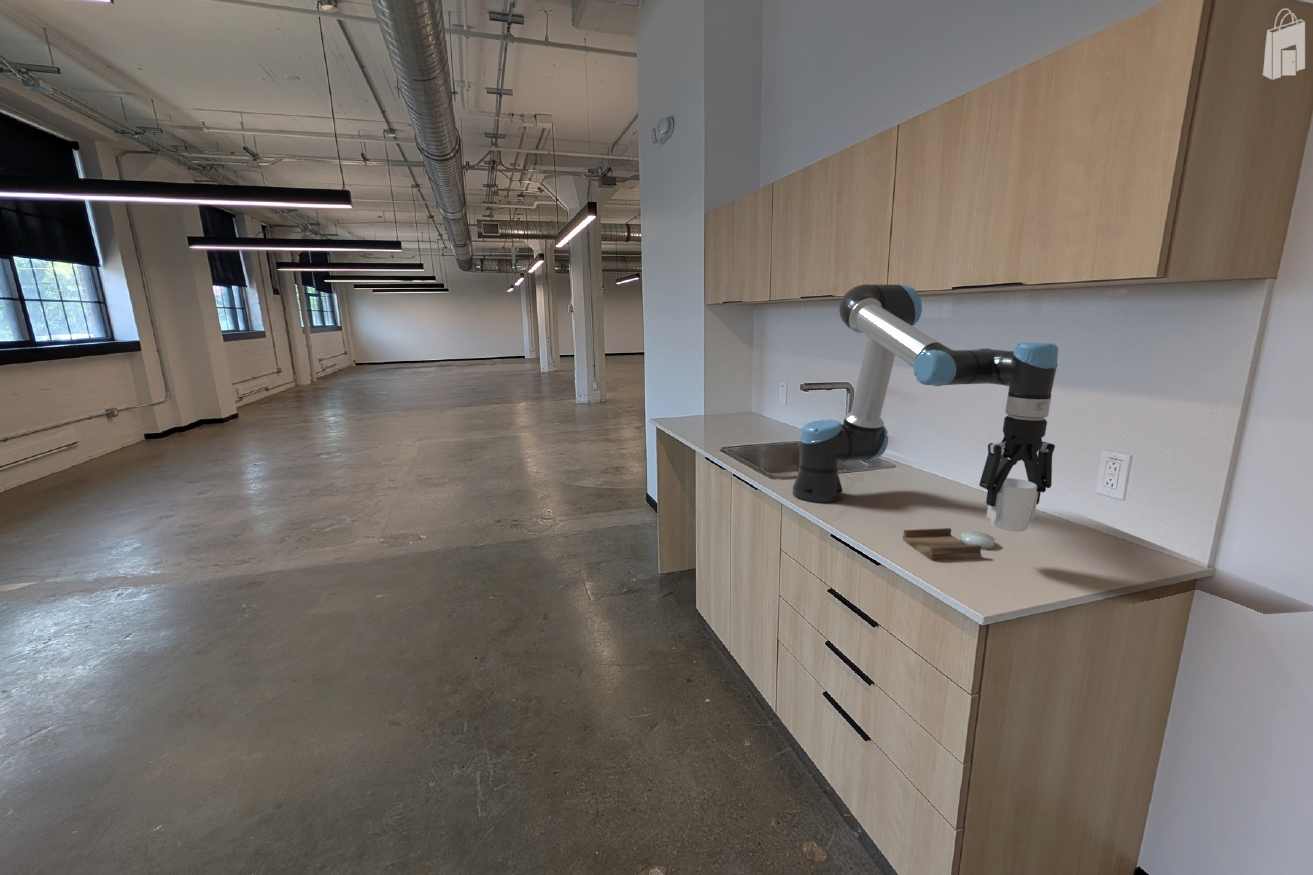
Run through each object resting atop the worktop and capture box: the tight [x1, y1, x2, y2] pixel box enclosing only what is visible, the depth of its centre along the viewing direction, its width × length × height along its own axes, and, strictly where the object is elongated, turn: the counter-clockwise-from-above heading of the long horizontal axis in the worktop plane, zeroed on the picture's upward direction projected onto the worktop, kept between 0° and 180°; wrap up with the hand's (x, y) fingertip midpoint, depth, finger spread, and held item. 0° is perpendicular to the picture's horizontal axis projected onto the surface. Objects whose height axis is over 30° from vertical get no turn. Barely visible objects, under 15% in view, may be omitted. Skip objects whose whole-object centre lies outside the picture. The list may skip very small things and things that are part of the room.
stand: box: [902, 527, 982, 561], centre depth 129 cm, size 12×12×3 cm
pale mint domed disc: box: [960, 530, 995, 550], centre depth 132 cm, size 7×7×2 cm
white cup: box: [990, 477, 1037, 533], centre depth 118 cm, size 8×8×10 cm
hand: (1009, 518), depth 119 cm, fingers closed on white cup, 8 cm apart
